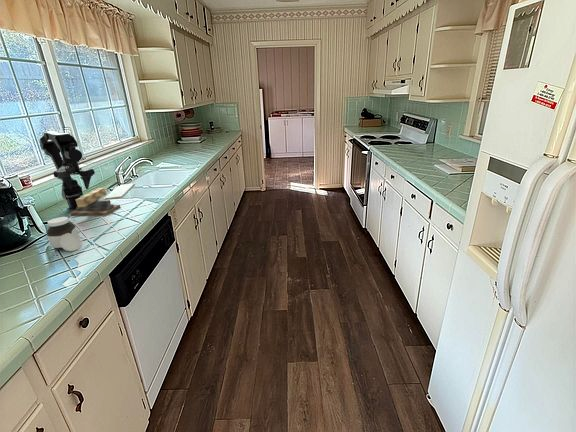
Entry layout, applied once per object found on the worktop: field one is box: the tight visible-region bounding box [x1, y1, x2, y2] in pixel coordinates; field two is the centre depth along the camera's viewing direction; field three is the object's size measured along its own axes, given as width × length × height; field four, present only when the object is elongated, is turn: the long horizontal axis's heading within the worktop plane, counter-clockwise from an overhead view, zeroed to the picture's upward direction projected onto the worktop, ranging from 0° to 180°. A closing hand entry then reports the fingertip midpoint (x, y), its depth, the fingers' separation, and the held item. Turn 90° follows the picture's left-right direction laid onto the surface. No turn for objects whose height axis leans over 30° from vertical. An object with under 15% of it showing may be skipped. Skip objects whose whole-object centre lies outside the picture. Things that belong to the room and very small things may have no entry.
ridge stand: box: [69, 199, 121, 216], centre depth 167 cm, size 20×12×6 cm, turn 82°
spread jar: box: [46, 216, 82, 252], centre depth 125 cm, size 12×11×12 cm
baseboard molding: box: [102, 181, 135, 200], centre depth 202 cm, size 31×3×12 cm
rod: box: [76, 187, 107, 207], centre depth 165 cm, size 20×4×4 cm, turn 0°
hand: (79, 189), depth 163 cm, fingers open, 9 cm apart
